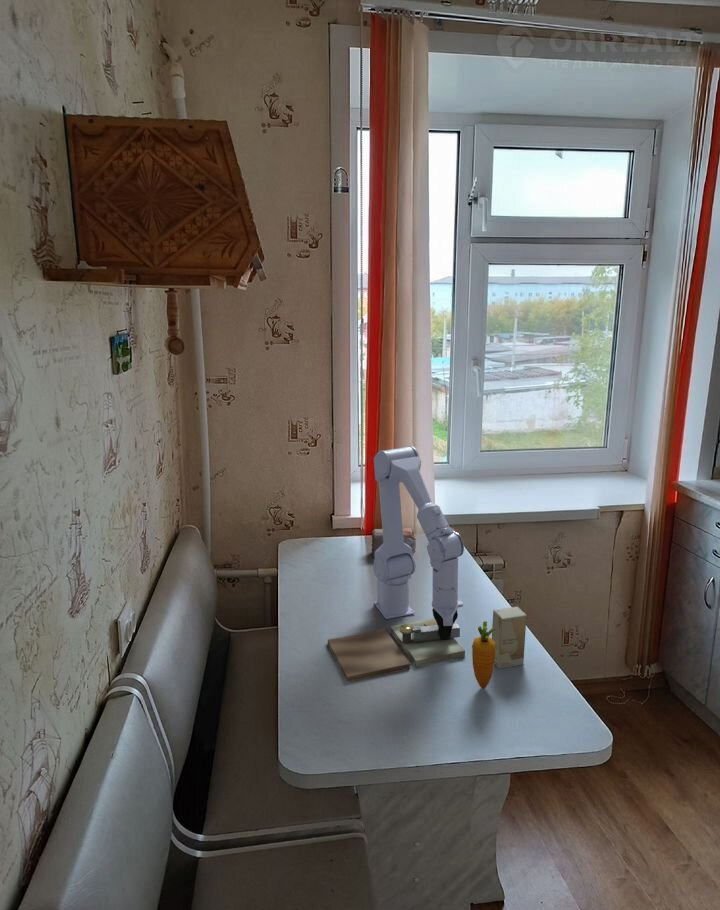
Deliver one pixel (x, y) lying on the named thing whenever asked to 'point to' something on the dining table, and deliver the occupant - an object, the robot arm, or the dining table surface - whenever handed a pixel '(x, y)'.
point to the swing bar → (427, 632)
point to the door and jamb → (389, 651)
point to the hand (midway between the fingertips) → (444, 638)
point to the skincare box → (509, 636)
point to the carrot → (483, 656)
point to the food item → (407, 537)
